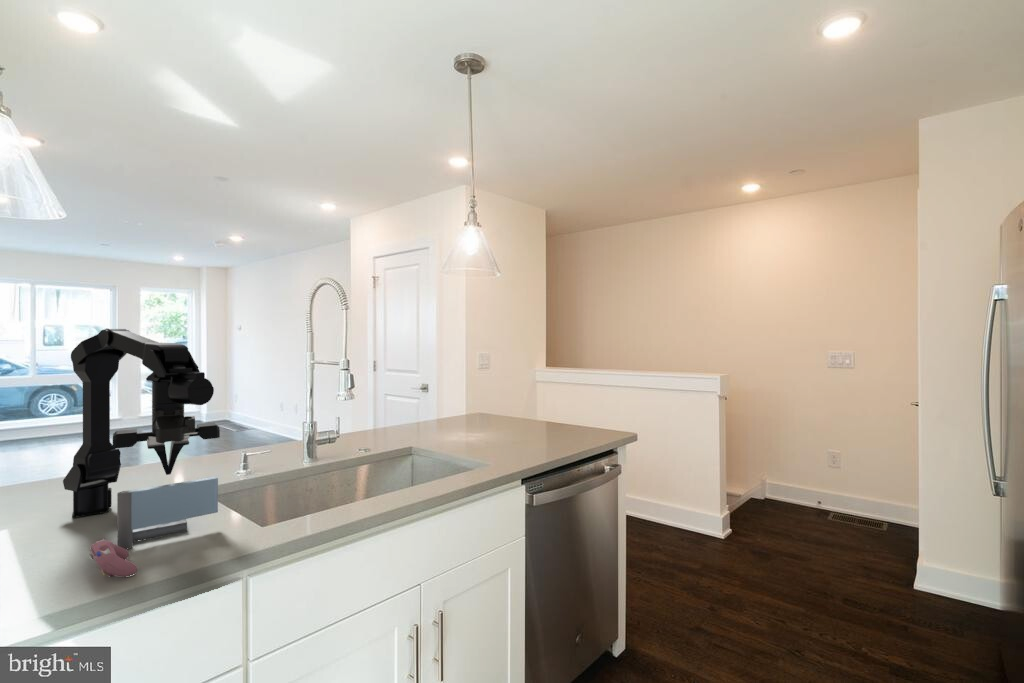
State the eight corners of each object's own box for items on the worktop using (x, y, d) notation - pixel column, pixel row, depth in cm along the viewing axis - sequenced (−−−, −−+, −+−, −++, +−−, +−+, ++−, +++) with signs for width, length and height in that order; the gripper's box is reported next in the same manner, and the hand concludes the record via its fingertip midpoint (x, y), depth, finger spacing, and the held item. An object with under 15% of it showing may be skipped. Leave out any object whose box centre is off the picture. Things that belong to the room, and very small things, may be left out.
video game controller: (103, 572, 92) (80, 543, 89) (130, 554, 95) (109, 526, 92) (111, 592, 85) (87, 561, 82) (140, 572, 88) (118, 542, 85)
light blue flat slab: (117, 551, 97) (117, 495, 97) (116, 547, 99) (116, 492, 99) (218, 528, 109) (218, 478, 108) (215, 525, 110) (215, 476, 110)
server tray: (121, 544, 100) (122, 533, 100) (123, 517, 114) (123, 508, 114) (187, 531, 107) (187, 521, 107) (180, 507, 121) (180, 498, 121)
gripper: (111, 410, 95) (111, 491, 96) (223, 403, 107) (223, 475, 107) (113, 404, 104) (113, 478, 104) (216, 397, 116) (216, 464, 116)
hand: (168, 474), depth 108 cm, fingers closed
